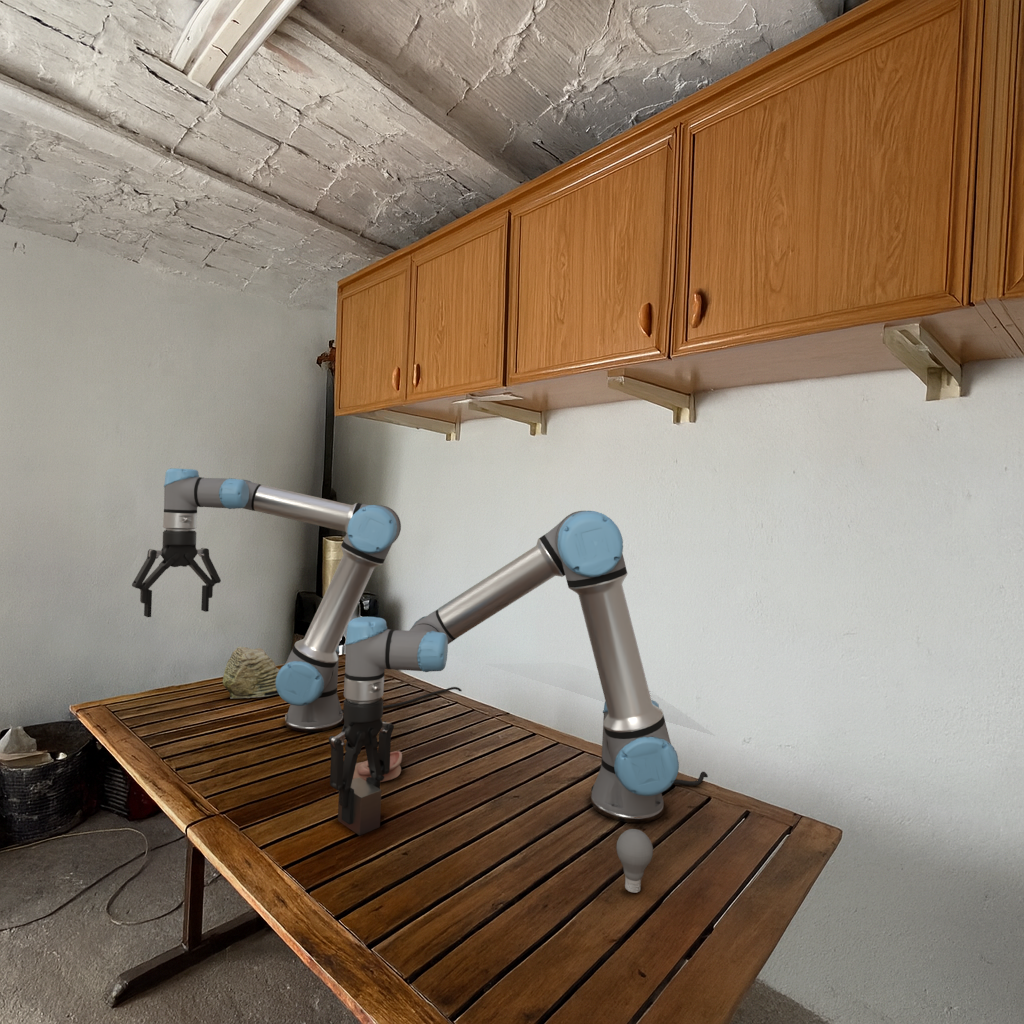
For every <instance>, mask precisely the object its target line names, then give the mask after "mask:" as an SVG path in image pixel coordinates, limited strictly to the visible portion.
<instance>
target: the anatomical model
mask: <svg viewBox="0 0 1024 1024" xmlns="http://www.w3.org/2000/svg"><path fill="white" fill-rule="evenodd" d="M402 761H403V754H402V751H399V750H397V751H390V771H389V773H388V774H384V775H383V776H384V780H383V781H380V783H383V782H387V781H391V780H393V779H396V778H398V777H399V776H400V774H401V772H402V767H401V763H402ZM358 777H360V778H361V779H363V780H365V781H366V778H368V777H371V775H370V771H369V766H368V760H367V759H366V760H365V761H361V762H356V766H355V771H354V775H353V779H355V778H358ZM353 779H352V780H353Z"/></svg>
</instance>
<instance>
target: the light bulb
mask: <svg viewBox="0 0 1024 1024" xmlns="http://www.w3.org/2000/svg"><path fill="white" fill-rule="evenodd" d="M615 849H616V854H617V857H618V859H619V861H620V863H621V865H622V867H623V873H624V874H623V875H624V876H625V878H624V888H625V890H627V891H628V892H630V893H634V894H635V893H639V892H640V891H641V889H642V887H641V886H642V879H643V877H644V875H645V871H646V868H647V867H648V866H649V864H650V863H651V861H652V859H653V855H654V847H653V843H652V841H651V838H649V836H648V835H647V834H646V833H645V832H643V831H642V830H641V829H636V828H629V829H627V830H625V831H623V832H622V833H621V834H620V835H619V837H618V839H617V841H616V847H615Z"/></svg>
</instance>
